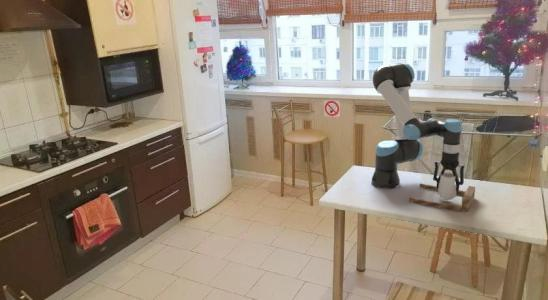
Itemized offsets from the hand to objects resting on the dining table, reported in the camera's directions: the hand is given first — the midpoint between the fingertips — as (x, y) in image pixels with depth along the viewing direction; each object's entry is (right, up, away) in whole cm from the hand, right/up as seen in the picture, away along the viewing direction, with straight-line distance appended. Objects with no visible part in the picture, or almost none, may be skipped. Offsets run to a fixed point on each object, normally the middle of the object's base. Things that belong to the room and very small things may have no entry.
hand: (446, 195), depth 210 cm
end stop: (+8, -4, -4) cm, 10 cm away
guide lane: (-3, -2, +3) cm, 5 cm away
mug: (0, -1, 0) cm, 1 cm away
